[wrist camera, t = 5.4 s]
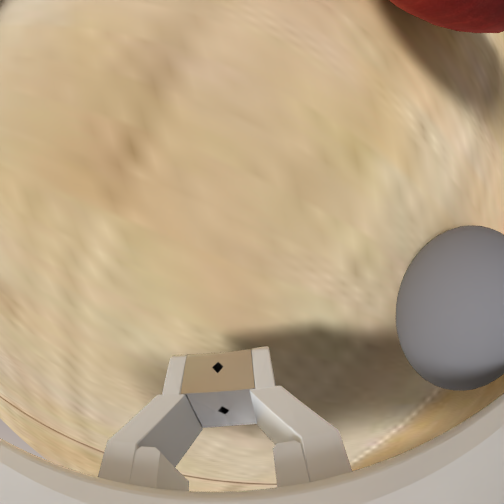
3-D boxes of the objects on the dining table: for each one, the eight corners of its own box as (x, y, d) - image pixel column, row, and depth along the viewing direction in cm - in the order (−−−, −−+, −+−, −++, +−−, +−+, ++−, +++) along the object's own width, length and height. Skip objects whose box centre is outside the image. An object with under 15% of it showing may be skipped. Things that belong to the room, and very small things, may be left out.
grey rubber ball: (437, 451, 4) (351, 349, 9) (512, 385, 6) (437, 325, 11) (538, 260, 3) (381, 203, 8) (565, 253, 4) (466, 215, 9)
